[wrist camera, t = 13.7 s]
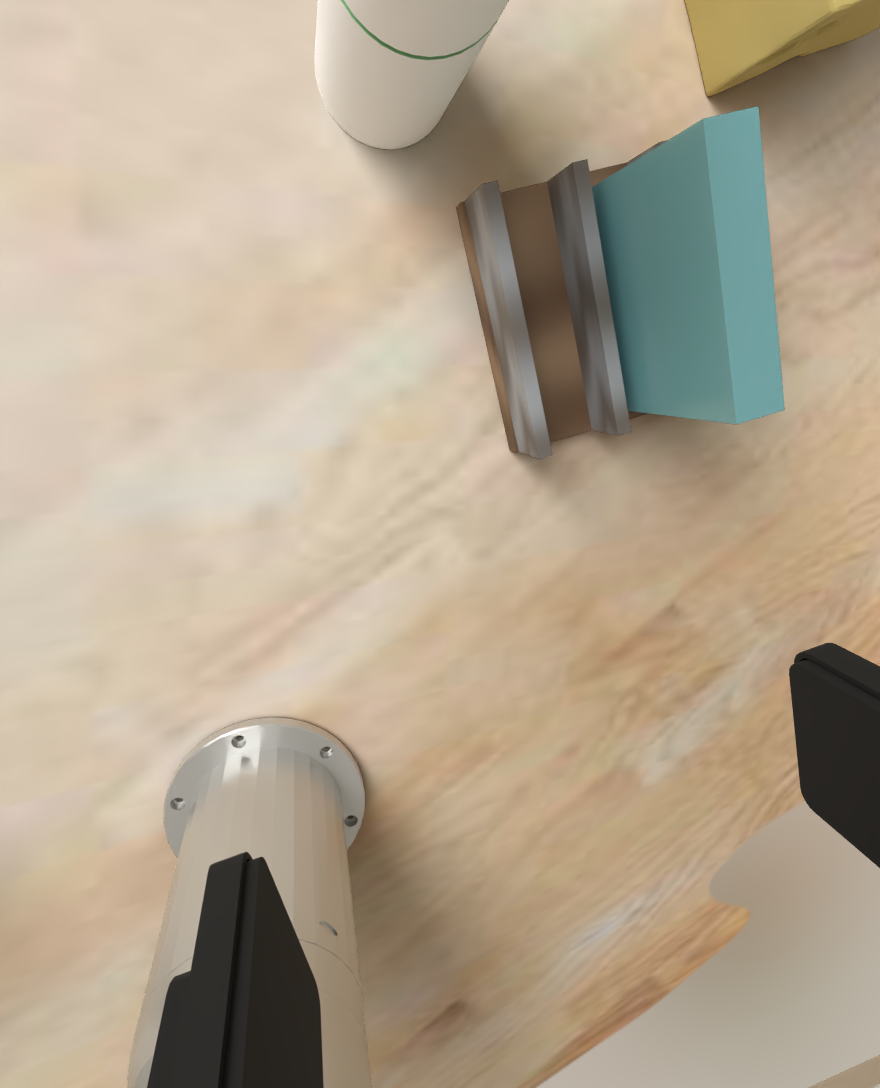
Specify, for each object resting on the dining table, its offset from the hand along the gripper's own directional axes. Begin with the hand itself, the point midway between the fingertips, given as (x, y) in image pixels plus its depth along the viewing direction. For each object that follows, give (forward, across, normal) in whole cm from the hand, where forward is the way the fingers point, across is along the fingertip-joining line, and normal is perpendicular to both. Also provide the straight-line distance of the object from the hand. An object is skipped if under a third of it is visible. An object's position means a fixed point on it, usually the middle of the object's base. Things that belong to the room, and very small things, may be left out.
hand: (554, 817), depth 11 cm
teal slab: (+29, -17, -7) cm, 34 cm away
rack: (+30, -17, -7) cm, 35 cm away
